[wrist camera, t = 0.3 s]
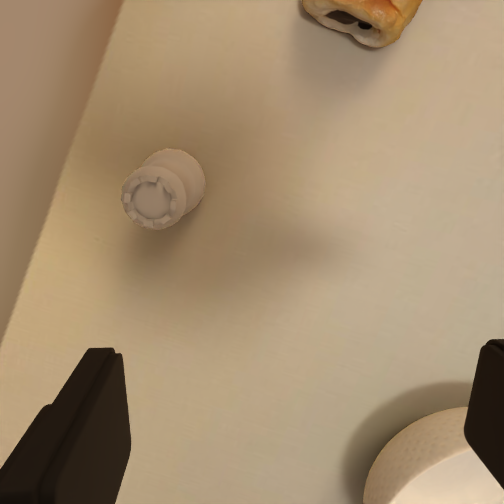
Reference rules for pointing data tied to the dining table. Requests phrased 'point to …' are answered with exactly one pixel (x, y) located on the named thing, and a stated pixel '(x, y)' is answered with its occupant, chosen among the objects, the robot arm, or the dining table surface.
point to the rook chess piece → (163, 189)
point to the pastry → (365, 18)
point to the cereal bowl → (431, 466)
